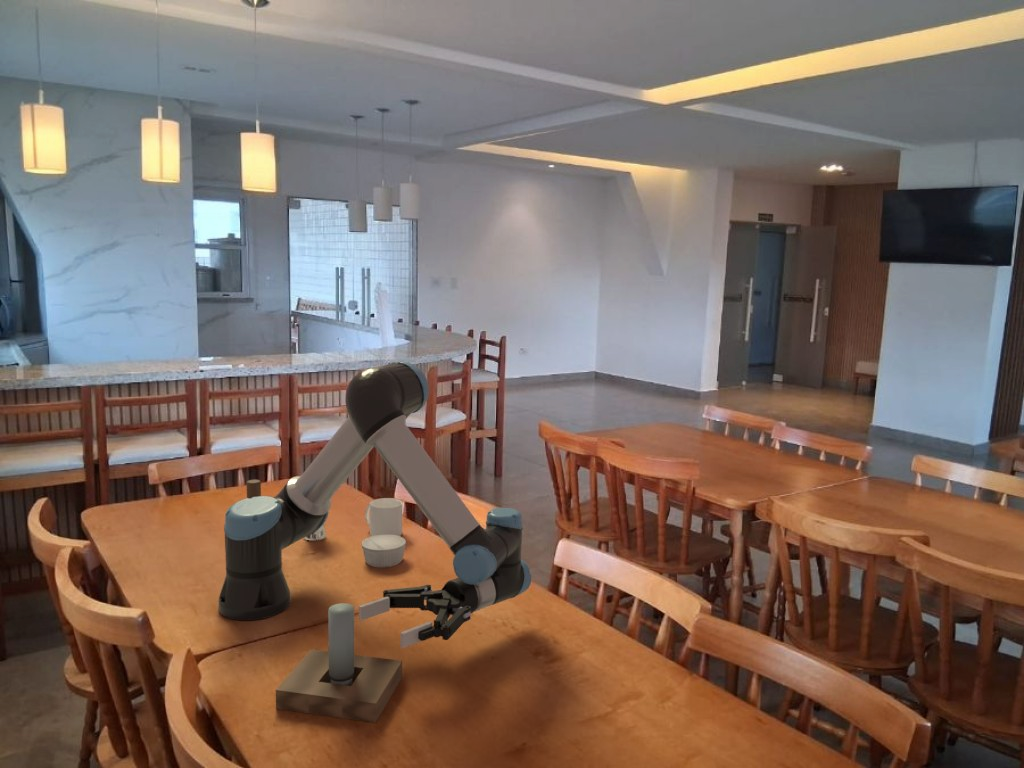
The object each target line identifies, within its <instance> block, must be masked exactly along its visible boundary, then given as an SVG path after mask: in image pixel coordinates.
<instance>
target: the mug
mask: <svg viewBox="0 0 1024 768" xmlns="http://www.w3.org/2000/svg"><path fill="white" fill-rule="evenodd" d="M364 515H365V517H364V520H365V522H366V523H367V526H368V527H369V535H370V537H371V536H376V535H397V536H400V535H401V534H403V501H402V500H401V499H398V498H392V497H383V498H382V497H380V498H376V499H373V500H371V501H370V502H369V504H367V506H366V509H365V513H364ZM401 536H402V535H401ZM401 536H400V537H401Z"/></svg>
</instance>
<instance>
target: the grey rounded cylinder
mask: <svg viewBox="0 0 1024 768" xmlns="http://www.w3.org/2000/svg"><path fill="white" fill-rule="evenodd" d="M327 612H328V614H327V615H328V652H329V678H330V679H331V683H332V684H340V685H347V686H351V685H352V677H353V676H354V655H355V607H354V606H353V605H352V604H351V603H344V602H343V603H335V604H333V605H331V606H330V607H329V608H328V611H327Z"/></svg>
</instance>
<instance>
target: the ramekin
mask: <svg viewBox="0 0 1024 768" xmlns="http://www.w3.org/2000/svg"><path fill="white" fill-rule="evenodd" d="M406 547H407V541H406V539H405V538H404V537H403V536H397V535H376V536H371V535H370V536H369V537H367V538H365V539H363V540H362V542H361V549H362V551H363V557H364V561H365V562H366V564H367V565H369V566H370V567H373V568H378V569H379V568H383V569H384V568H390V567H394V566H397V565H399V564H400V563H401V562H402V561H403V559H404V556H405V555H404V553H405V550H406V549H405V548H406Z"/></svg>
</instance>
